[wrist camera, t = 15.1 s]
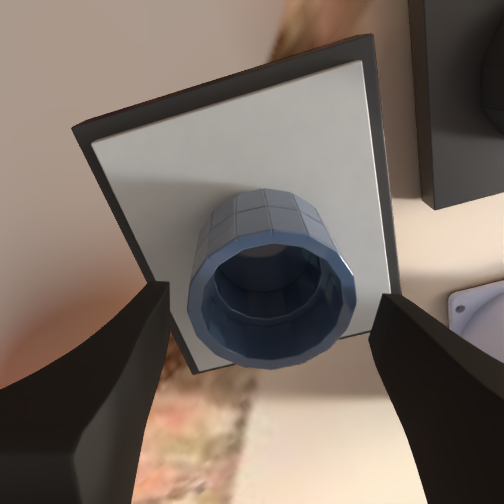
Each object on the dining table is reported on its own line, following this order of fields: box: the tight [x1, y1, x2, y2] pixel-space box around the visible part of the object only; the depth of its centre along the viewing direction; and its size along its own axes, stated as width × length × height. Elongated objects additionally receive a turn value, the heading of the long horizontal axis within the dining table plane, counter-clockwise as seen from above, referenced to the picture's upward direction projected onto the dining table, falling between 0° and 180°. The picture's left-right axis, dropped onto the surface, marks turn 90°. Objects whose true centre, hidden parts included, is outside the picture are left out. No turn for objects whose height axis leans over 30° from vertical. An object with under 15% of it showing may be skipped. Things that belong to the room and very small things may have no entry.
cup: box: [187, 188, 357, 370], centre depth 15 cm, size 6×6×4 cm
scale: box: [71, 34, 402, 375], centre depth 18 cm, size 14×12×2 cm
